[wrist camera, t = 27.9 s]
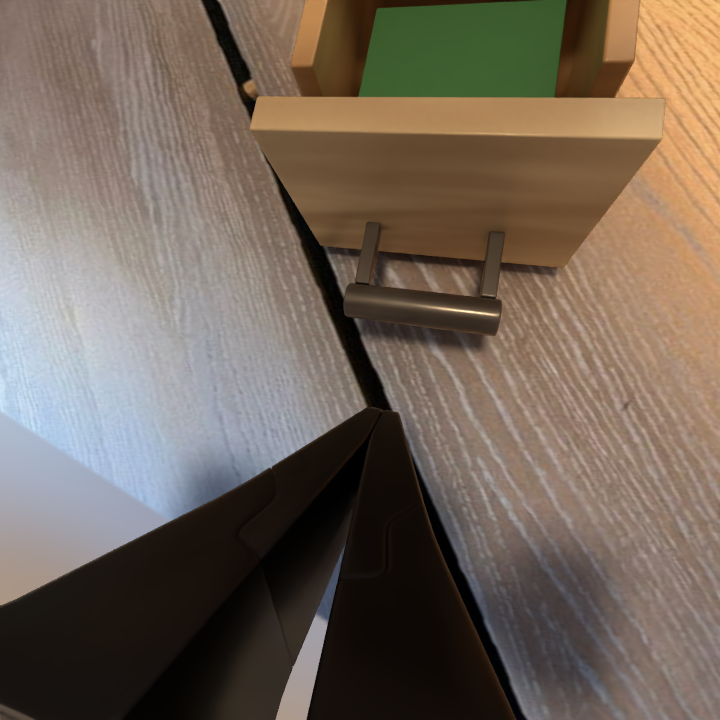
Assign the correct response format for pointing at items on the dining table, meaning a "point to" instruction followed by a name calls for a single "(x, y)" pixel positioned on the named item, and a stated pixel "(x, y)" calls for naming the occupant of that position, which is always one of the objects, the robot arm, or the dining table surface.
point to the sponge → (466, 50)
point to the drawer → (455, 158)
